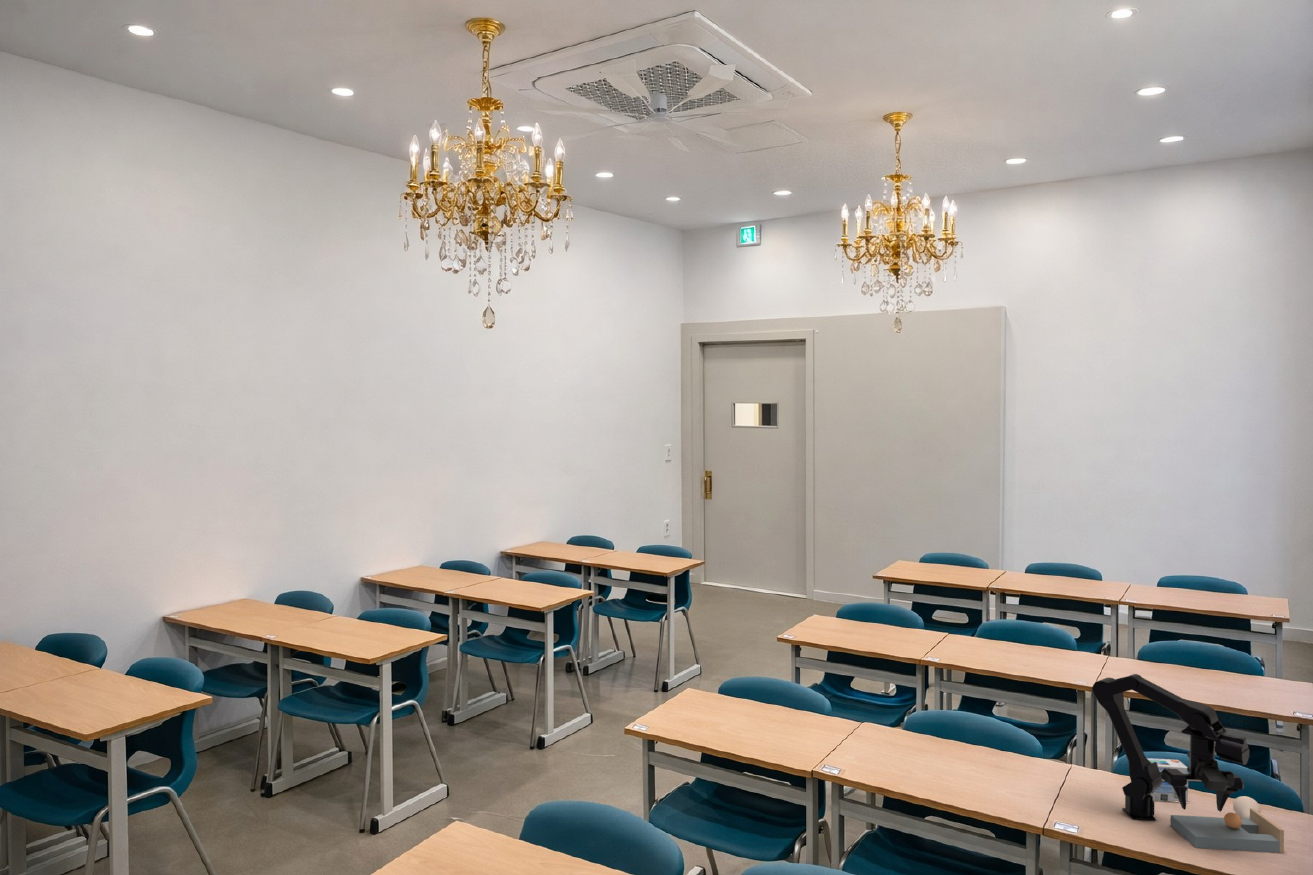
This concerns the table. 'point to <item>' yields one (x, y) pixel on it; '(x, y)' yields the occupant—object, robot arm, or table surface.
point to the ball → (1232, 820)
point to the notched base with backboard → (1231, 833)
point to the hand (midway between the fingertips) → (1201, 809)
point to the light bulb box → (1166, 789)
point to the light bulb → (1245, 806)
